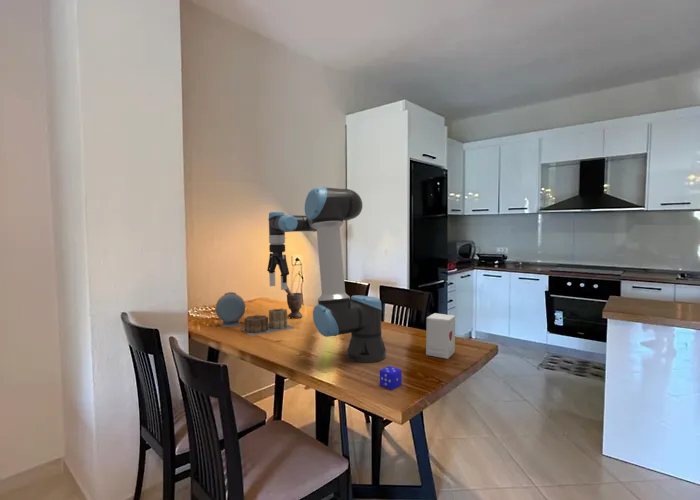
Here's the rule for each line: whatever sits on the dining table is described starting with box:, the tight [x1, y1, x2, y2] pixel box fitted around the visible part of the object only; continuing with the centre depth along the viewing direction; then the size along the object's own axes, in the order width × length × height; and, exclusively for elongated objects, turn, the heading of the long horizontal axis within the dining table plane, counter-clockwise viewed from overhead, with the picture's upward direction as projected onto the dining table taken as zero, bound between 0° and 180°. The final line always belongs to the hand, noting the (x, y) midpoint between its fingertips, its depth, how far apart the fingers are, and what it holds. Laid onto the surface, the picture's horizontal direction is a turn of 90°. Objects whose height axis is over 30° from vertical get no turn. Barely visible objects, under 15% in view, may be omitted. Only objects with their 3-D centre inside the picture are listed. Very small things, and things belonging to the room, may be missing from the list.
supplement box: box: [425, 312, 456, 360], centre depth 147 cm, size 9×9×15 cm
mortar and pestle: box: [284, 285, 304, 319], centre depth 208 cm, size 12×9×20 cm
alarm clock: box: [215, 291, 246, 328], centre depth 189 cm, size 14×10×18 cm
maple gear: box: [268, 308, 288, 329], centre depth 184 cm, size 9×9×8 cm
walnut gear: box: [243, 314, 269, 334], centre depth 178 cm, size 10×10×6 cm
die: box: [379, 365, 403, 391], centre depth 119 cm, size 5×5×5 cm
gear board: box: [240, 323, 295, 337], centre depth 181 cm, size 14×22×6 cm, turn 124°
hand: (278, 287), depth 183 cm, fingers open, 13 cm apart
